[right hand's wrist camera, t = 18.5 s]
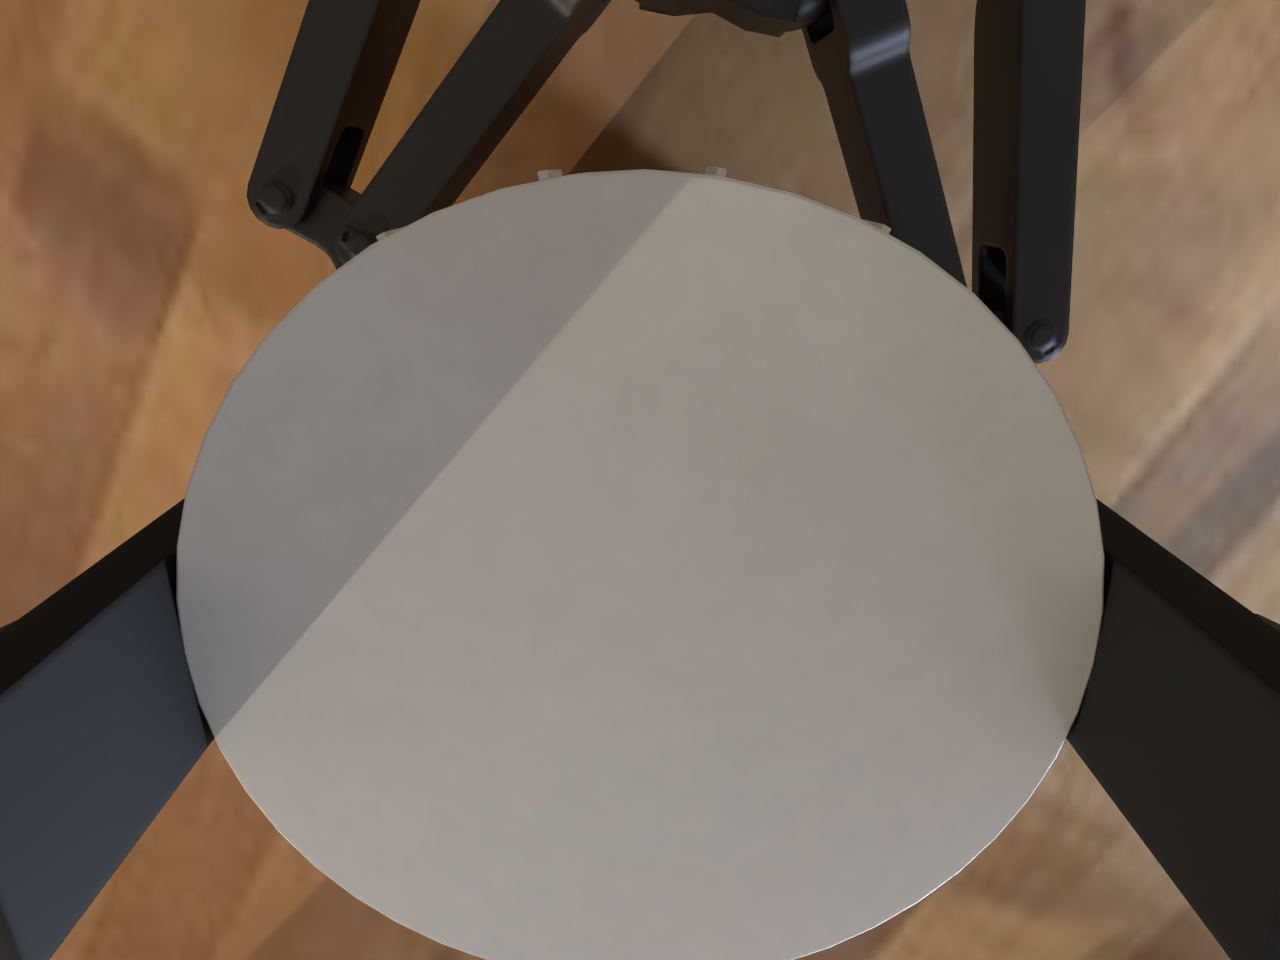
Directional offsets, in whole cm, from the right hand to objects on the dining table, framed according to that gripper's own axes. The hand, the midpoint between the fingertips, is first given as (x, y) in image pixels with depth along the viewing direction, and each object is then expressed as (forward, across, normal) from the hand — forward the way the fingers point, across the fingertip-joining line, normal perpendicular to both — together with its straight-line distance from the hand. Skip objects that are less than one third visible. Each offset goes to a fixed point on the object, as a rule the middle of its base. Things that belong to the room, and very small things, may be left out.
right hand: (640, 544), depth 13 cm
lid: (-3, 0, 0) cm, 3 cm away
